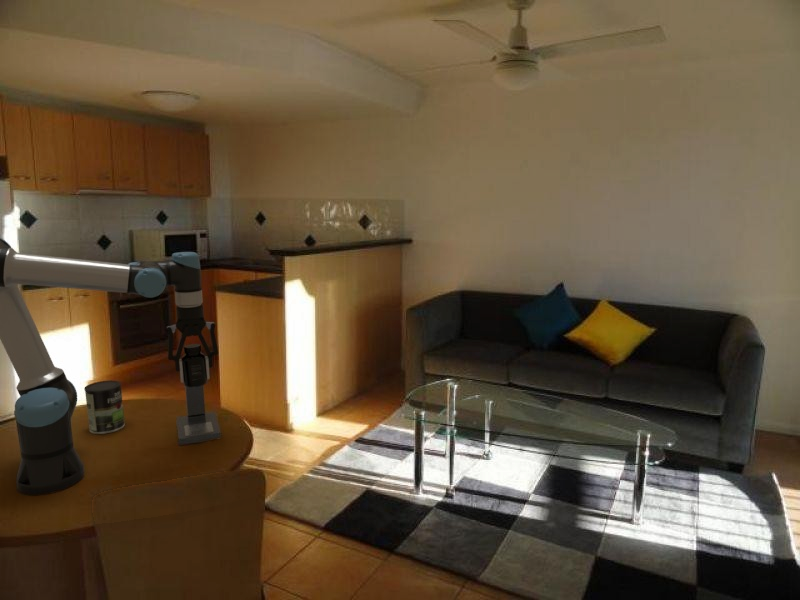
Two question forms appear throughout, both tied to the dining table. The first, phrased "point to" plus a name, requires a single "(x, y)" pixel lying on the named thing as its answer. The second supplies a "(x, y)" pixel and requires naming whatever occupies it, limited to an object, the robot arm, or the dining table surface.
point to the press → (197, 419)
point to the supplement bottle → (194, 366)
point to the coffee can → (104, 407)
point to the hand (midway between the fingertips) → (195, 379)
